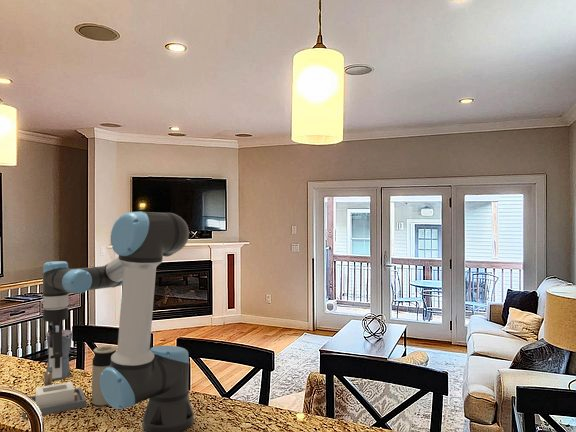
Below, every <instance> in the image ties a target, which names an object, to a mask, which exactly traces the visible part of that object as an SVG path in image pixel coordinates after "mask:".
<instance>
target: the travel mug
mask: <svg viewBox="0 0 576 432" xmlns="http://www.w3.org/2000/svg"><path fill="white" fill-rule="evenodd" d="M117 348H118V346H116V345H115V346H114V345H103V346H98V347H95V348H94V349H93V350H92V351H93V353H94V357H93V358H92V365H91V367H92V372H91V373H92V375H91V379H92V380H91V387H92V388H91V403H92V404H93V405H95V406H99V407H101V406H102V407H103V406H108V405H109V404H108V403H107V402H106V400H105V398H104V396H103V394H102V392H101V388H100V375H101V373H102V372H103V370H104V369H106V368H107V367H110V362H111V356H112V354H114V353H115V352H116V351H117ZM109 406H110V405H109Z"/></svg>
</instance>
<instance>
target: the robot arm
mask: <svg viewBox="0 0 576 432" xmlns="http://www.w3.org/2000/svg"><path fill="white" fill-rule="evenodd" d="M110 231H111V232H110V244H111V245H112V248H111V249H112V250H113V252H114V253H116V255H118V256H117V257H116V258H114V259H113V260H111V261H110V262H108V263H107V264H105V265H100V266H93V267H90V266H89V267H77V268H69V263H68V262H67V261H63V260H61V261H60V260H59V261H47V262H45V263H44V264H43V267H42V269H43V270H42V299H40V302H41V303H42V308H43V310H42V320H43V322H48V323H49V325H48V331H49V335H50V338H49V344H50V345H49V346H50V347H51V348H49V353H48V359H49V367H52V379H54V378H60V377H62V356H63V354H62V330H64V327H63V324H62V323H61V321H65V320H67V319H68V318H69V308H68V306H69V293H70V294H83V293H85V292H87V291H93V290H99V289H109V288H117V287H121V299H120V313H119V324H118V325H119V327H118V337H117V350H116V352H115V353H114V354H112V356H111V362H110V367H107V368H106V369H104V370H103V372H102V373H101V375H100V388H101V392H102V394H103V396H104V398H105V400H106V402H107V403H108V404H109V406H110V407H112V408H113V409H114V410H115V409H116V410H122V409H126V408H129V407H130V408H131V407H134V406H135V405H137V404H140V403H142V402H145V401H146V400H148V401H147V405H146V407H145V411H144V413H143V416H142V429H143V430H144V431H146V432H184V431H185V430H188V429H189V428H190V427H192V425H193V424H194V423H195V421H194V420H195V414H194V410H193V407H192V405H191V404H192V403H191V401H190V398H189V377H190V376H189V375H190V373H189V372H190V361H189V359H190V357H189V351H188V350H187V349H186V348H184V347H181V346H176V345H157V346H155V345H154V346H153V347H150V346H151V336H152V335H151V334H152V323H153V321H152V320H153V311H154V300H155V299H154V298H155V287H156V273H157V267H158V266H159V265H161V264H162V262H163V257H170V256H173V255H174V254H176V253H178V252H179V251H181V250H182V249H183V248H184V247H185V246H186V245H187V242H188V240H189V237H190V231H189V226H188V224H187V222H186V220H184V219H183V218H182V216H179V215H178V214H176V213H173V212H157V211H156V212H154V211H152V212H151V211H148V212H147V211H130V212H126V213H125V212H124V213H123V214H121V215H120V216H119V217H118V218H117V219H116V220H115V222H114V224H113V226H112V228H111V230H110Z"/></svg>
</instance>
